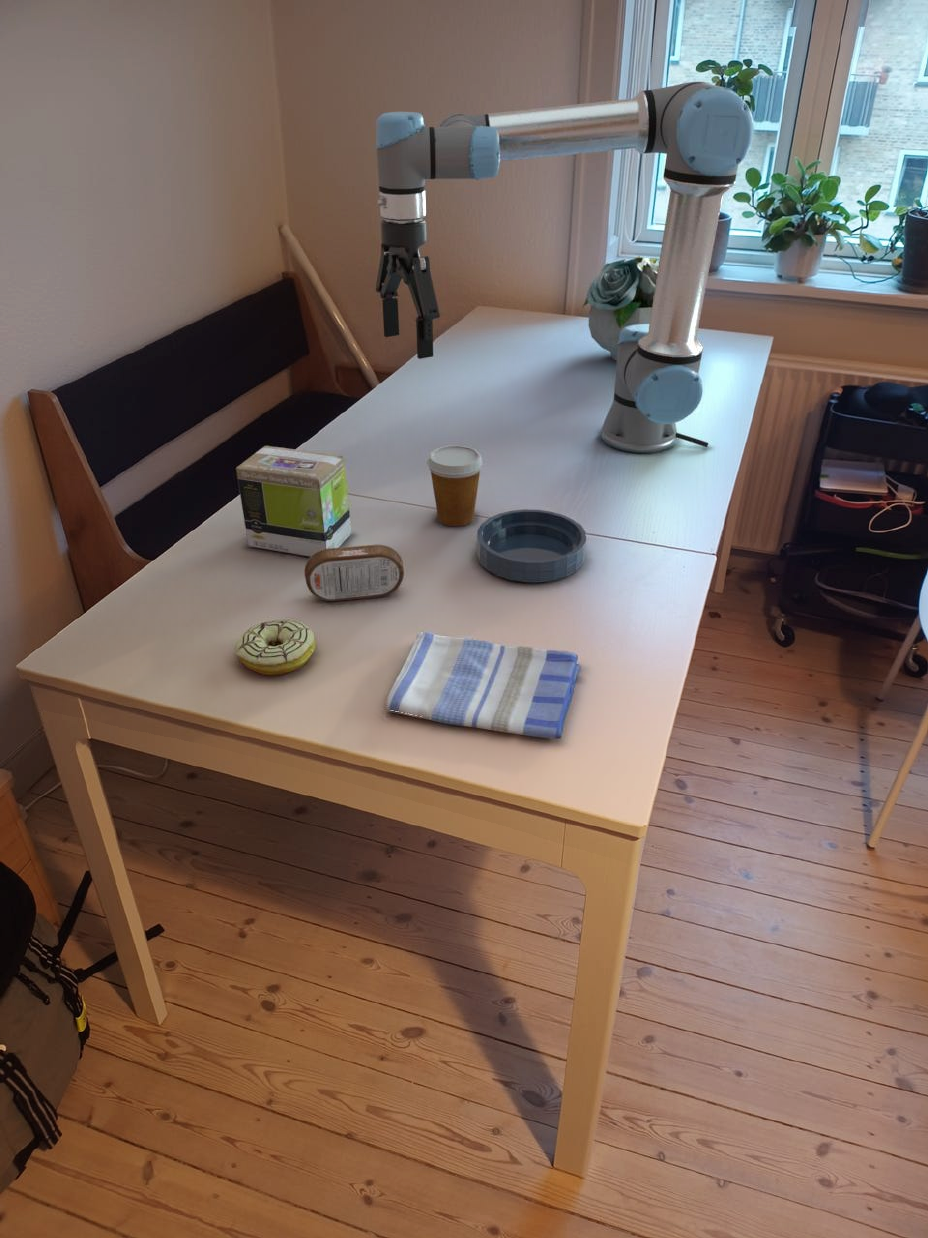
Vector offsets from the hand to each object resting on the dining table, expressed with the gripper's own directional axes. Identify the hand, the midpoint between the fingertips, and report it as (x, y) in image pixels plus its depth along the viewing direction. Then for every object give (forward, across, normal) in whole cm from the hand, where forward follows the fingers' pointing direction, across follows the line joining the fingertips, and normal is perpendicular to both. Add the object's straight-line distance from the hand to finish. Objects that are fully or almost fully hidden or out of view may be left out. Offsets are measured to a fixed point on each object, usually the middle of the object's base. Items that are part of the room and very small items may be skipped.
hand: (408, 346), depth 167 cm
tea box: (+25, +14, -28) cm, 40 cm away
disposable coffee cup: (+25, +20, -1) cm, 32 cm away
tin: (+25, +35, -27) cm, 51 cm away
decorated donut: (+25, +44, -43) cm, 66 cm away
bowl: (+25, +38, +3) cm, 45 cm away
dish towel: (+25, +64, -21) cm, 72 cm away
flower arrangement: (+25, -33, +77) cm, 87 cm away
